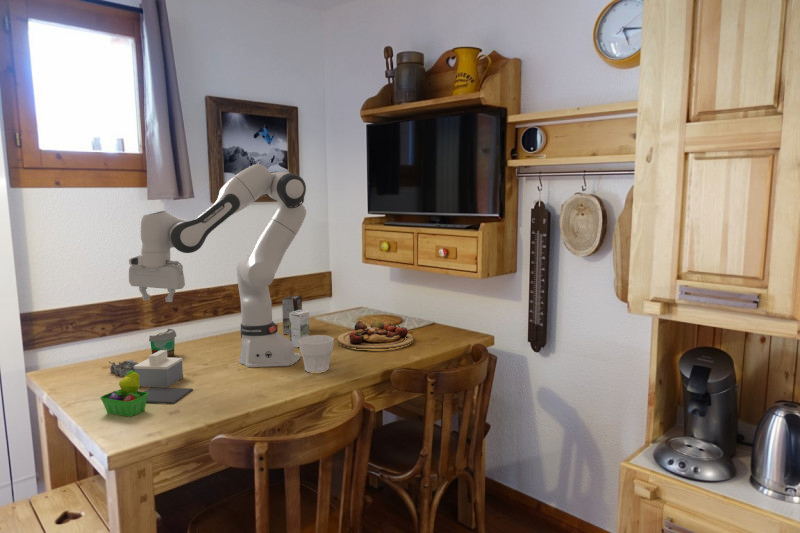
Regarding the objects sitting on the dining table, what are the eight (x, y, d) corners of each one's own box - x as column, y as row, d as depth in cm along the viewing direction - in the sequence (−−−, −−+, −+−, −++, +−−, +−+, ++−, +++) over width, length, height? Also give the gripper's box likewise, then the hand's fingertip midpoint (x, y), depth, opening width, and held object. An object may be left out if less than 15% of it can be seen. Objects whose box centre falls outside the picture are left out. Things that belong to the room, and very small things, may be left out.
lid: (182, 362, 194) (182, 349, 193) (167, 371, 184) (166, 357, 183) (151, 361, 195) (150, 348, 195) (133, 370, 185) (132, 357, 184)
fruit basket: (99, 414, 162) (96, 376, 161) (124, 403, 171) (122, 367, 169) (130, 419, 158) (127, 380, 157) (154, 408, 166) (152, 370, 165)
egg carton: (108, 372, 202) (107, 361, 201) (129, 367, 207) (128, 356, 207) (120, 378, 195) (120, 366, 194) (142, 373, 200) (142, 361, 200)
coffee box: (296, 335, 251) (295, 299, 249) (282, 334, 252) (281, 299, 250) (303, 330, 260) (302, 295, 258) (289, 329, 261) (288, 295, 259)
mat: (192, 390, 181) (192, 388, 181) (173, 404, 170) (173, 402, 170) (151, 388, 183) (151, 387, 183) (129, 402, 171) (129, 400, 171)
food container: (165, 363, 211) (163, 336, 210) (150, 362, 213) (148, 335, 211) (184, 353, 223) (182, 328, 222) (170, 353, 225) (168, 328, 223)
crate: (183, 377, 194) (182, 360, 194) (167, 387, 185) (166, 369, 184) (152, 376, 196) (151, 359, 195) (135, 386, 186) (134, 368, 185)
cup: (303, 377, 193) (302, 345, 192) (295, 367, 204) (294, 337, 203) (339, 372, 198) (338, 341, 197) (329, 363, 209) (328, 333, 208)
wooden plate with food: (366, 357, 217) (366, 336, 216) (322, 340, 242) (322, 321, 241) (429, 345, 237) (429, 325, 236) (383, 330, 261) (383, 312, 260)
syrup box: (299, 344, 236) (297, 309, 235) (310, 345, 233) (309, 310, 232) (289, 347, 231) (288, 312, 230) (301, 349, 228) (299, 313, 227)
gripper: (188, 260, 190) (189, 301, 191) (138, 257, 196) (140, 297, 198) (175, 262, 184) (176, 304, 185) (124, 259, 190) (126, 300, 192)
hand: (157, 300), depth 192 cm, fingers open, 8 cm apart
